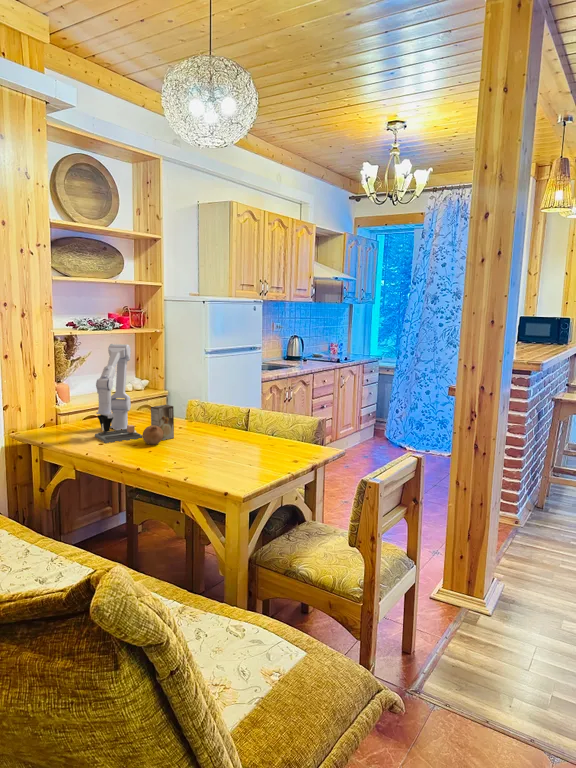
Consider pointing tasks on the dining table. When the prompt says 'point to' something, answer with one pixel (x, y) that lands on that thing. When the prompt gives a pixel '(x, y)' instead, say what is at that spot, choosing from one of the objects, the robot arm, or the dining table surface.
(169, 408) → the coffee box
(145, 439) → the onion
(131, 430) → the fader
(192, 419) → the dining table surface
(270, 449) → the dining table surface
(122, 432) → the console
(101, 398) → the robot arm
